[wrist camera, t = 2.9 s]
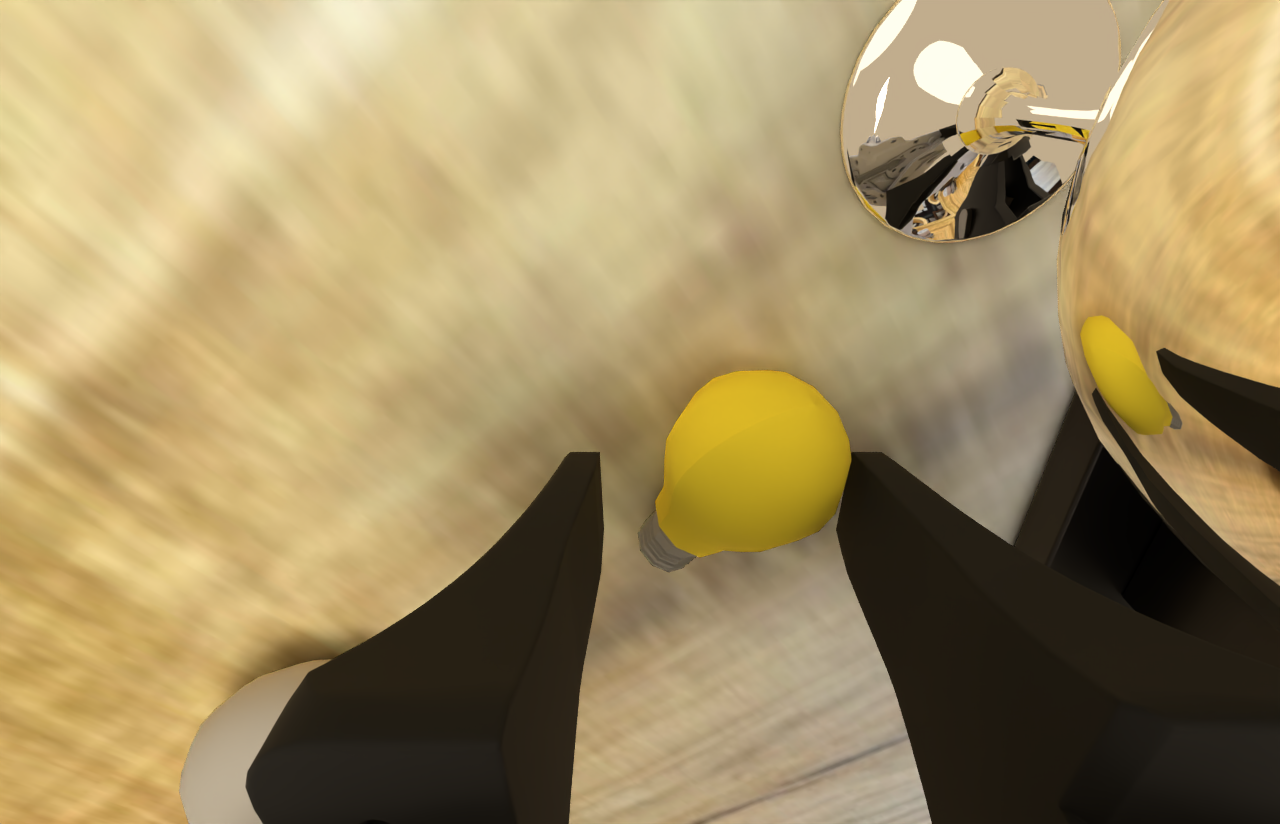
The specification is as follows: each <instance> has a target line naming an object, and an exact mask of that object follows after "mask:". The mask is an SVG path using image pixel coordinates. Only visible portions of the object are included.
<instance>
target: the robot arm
mask: <svg viewBox="0 0 1280 824" xmlns="http://www.w3.org/2000/svg"><path fill="white" fill-rule="evenodd" d="M851 459H852V460H851V464H850V468H849V472H848V475H847V479H846V483H845V487H844V492H843V497H842V503H841V508H840V513H839V518H838V523H837V528H836V531H837V535H838V539H839V543H840V548H841V552H842V556H843V559H844V563H845V567H846V570H847V574H848V576H849V579H850V581H851V584H852V586H853V589H854V591H855V594H856V596H857V599H858V601H859V603H860V606H861V608H862V611H863V613H864V616H865V618H866V620H867V623H868V625H869V627H870V630H871V632H872V635H873V637H874V639H875V642H876V644H877V647H878V649H879V651H880V654H881V656H882V659H883V661H884V663H885V666H886V668H887V671H888V673H889V676H890V679H891V682H892V684H893V687H894V690H895V693H896V696H897V699H898V702H899V706H900V709H901V712H902V716H903V719H904V723H905V726H906V729H907V733H908V736H909V739H910V743H911V746H912V750H913V754H914V757H915V761H916V764H917V768H918V772H919V775H920V779H921V783H922V786H923V790H924V794H925V797H926V801H927V805H928V809H929V813H930V817H931V821H932V824H1280V668H1278V667H1275V666H1272V665H1269V664H1267V663H1264V662H1261V661H1258V660H1255V659H1253V658H1250V657H1247V656H1244V655H1242V654H1239V653H1236V652H1233V651H1230V650H1228V649H1225V648H1222V647H1219V646H1217V645H1214V644H1212V643H1209V642H1207V641H1204V640H1202V639H1200V638H1197V637H1195V636H1192V635H1190V634H1187V633H1185V632H1183V631H1180V630H1178V629H1175V628H1173V627H1170V626H1168V625H1166V624H1163V623H1161V622H1159V621H1156V620H1154V619H1152V618H1150V617H1147V616H1145V615H1143V614H1141V613H1138V612H1136V611H1134V610H1132V609H1130V608H1127V607H1125V606H1123V605H1121V604H1119V603H1117V602H1115V601H1113V600H1111V599H1109V598H1107V597H1105V596H1103V595H1101V594H1099V593H1097V592H1095V591H1093V590H1090V589H1088V588H1086V587H1084V586H1083V585H1081V584H1079V583H1077V582H1075V581H1073V580H1071V579H1069V578H1067V577H1065V576H1064V575H1062V574H1060V573H1058V572H1057V571H1055V570H1053V569H1051V568H1049V567H1048V566H1046V565H1044V564H1042V563H1041V562H1039V561H1037V560H1035V559H1034V558H1032V557H1030V556H1028V555H1027V554H1025V553H1023V552H1022V551H1020V550H1019V549H1017V548H1015V547H1014V546H1012V545H1010V544H1009V543H1007V542H1006V541H1004V540H1003V539H1001V538H1000V537H998V536H997V535H995V534H994V533H992V532H991V531H989V530H988V529H986V528H985V527H983V526H982V525H980V524H979V523H977V522H976V521H974V520H973V519H972V518H970V517H969V516H967V515H966V514H964V513H963V512H962V511H960V510H959V509H957V508H956V507H955V506H953V505H952V504H951V503H949V502H948V501H947V500H945V499H944V498H942V497H941V496H940V495H938V494H937V493H936V492H935V491H933V490H932V489H931V488H929V487H928V486H927V485H925V484H924V483H923V482H921V481H920V480H919V479H917V478H916V477H915V476H914V475H912V474H911V473H910V472H908V471H907V470H906V469H904V468H903V467H902V466H900V465H899V464H898V463H896V462H895V461H894V460H892V459H891V458H889V457H888V456H886V455H885V454H883V453H882V452H851ZM603 535H604V522H603V504H602V486H601V467H600V452H570V453H569V454H568V455H567V456H566V457H565V458H564V460H563V461H562V463H561V464H560V466H559V467H558V469H557V470H556V472H555V473H554V474H553V476H552V477H551V479H550V480H549V481H548V483H547V484H546V485H545V487H544V488H543V489H542V491H541V492H540V493H539V495H538V496H537V497H536V498H535V500H534V501H533V502H532V503H531V505H530V506H529V507H528V508H527V510H526V511H525V512H524V513H523V514H522V515H521V517H520V518H519V519H518V520H517V521H516V522H515V523H514V524H513V525H512V526H511V528H510V529H509V530H508V531H507V532H506V533H505V534H504V535H503V536H502V537H501V539H500V540H499V541H498V542H497V543H496V544H495V545H494V546H493V547H492V548H491V549H490V550H489V551H488V552H487V553H485V554H484V555H483V556H482V557H481V558H480V559H479V560H478V561H477V562H476V563H475V564H474V565H472V566H471V567H470V568H469V569H468V570H467V571H466V572H465V573H463V574H462V575H461V576H460V577H458V578H457V579H456V580H455V581H454V582H452V583H451V584H450V585H448V586H447V587H446V588H444V589H443V590H442V591H441V592H439V593H438V594H437V595H435V596H434V597H433V598H431V599H430V600H429V601H428V602H426V603H425V604H423V605H422V606H420V607H419V608H417V609H416V610H415V611H413V612H412V613H410V614H409V615H407V616H406V617H404V618H403V619H401V620H399V621H398V622H396V623H395V624H393V625H392V626H390V627H388V628H387V629H385V630H384V631H382V632H380V633H379V634H377V635H375V636H374V637H372V638H370V639H369V640H367V641H365V642H363V643H362V644H360V645H358V646H356V647H354V648H352V649H351V650H349V651H347V652H345V653H343V654H341V655H340V656H338V657H336V658H334V659H332V660H330V661H329V662H327V663H325V664H323V665H321V666H319V667H317V668H315V669H313V670H311V671H309V672H308V673H307V675H306V676H305V678H304V679H303V681H302V682H301V684H300V685H299V686H298V688H297V689H296V691H295V692H294V693H293V695H292V696H291V698H290V699H289V701H288V702H287V704H286V706H285V707H284V709H283V711H282V712H281V714H280V716H279V717H278V719H277V721H276V723H275V724H274V726H273V728H272V729H271V731H270V733H269V735H268V736H267V738H266V740H265V742H264V743H263V745H262V747H261V749H260V750H259V752H258V754H257V756H256V757H255V759H254V761H253V763H252V764H251V766H250V768H249V770H248V771H247V777H246V785H245V788H246V790H247V793H248V796H249V798H250V801H251V804H252V806H253V809H254V810H255V812H256V814H257V815H258V817H259V818H260V820H261V822H262V823H263V824H569V813H570V799H571V786H572V774H573V762H574V750H575V738H576V727H577V716H578V704H579V693H580V685H581V678H582V671H583V665H584V660H585V655H586V649H587V644H588V639H589V633H590V628H591V623H592V618H593V612H594V607H595V602H596V596H597V591H598V585H599V580H600V574H601V564H602V550H603Z"/></svg>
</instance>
